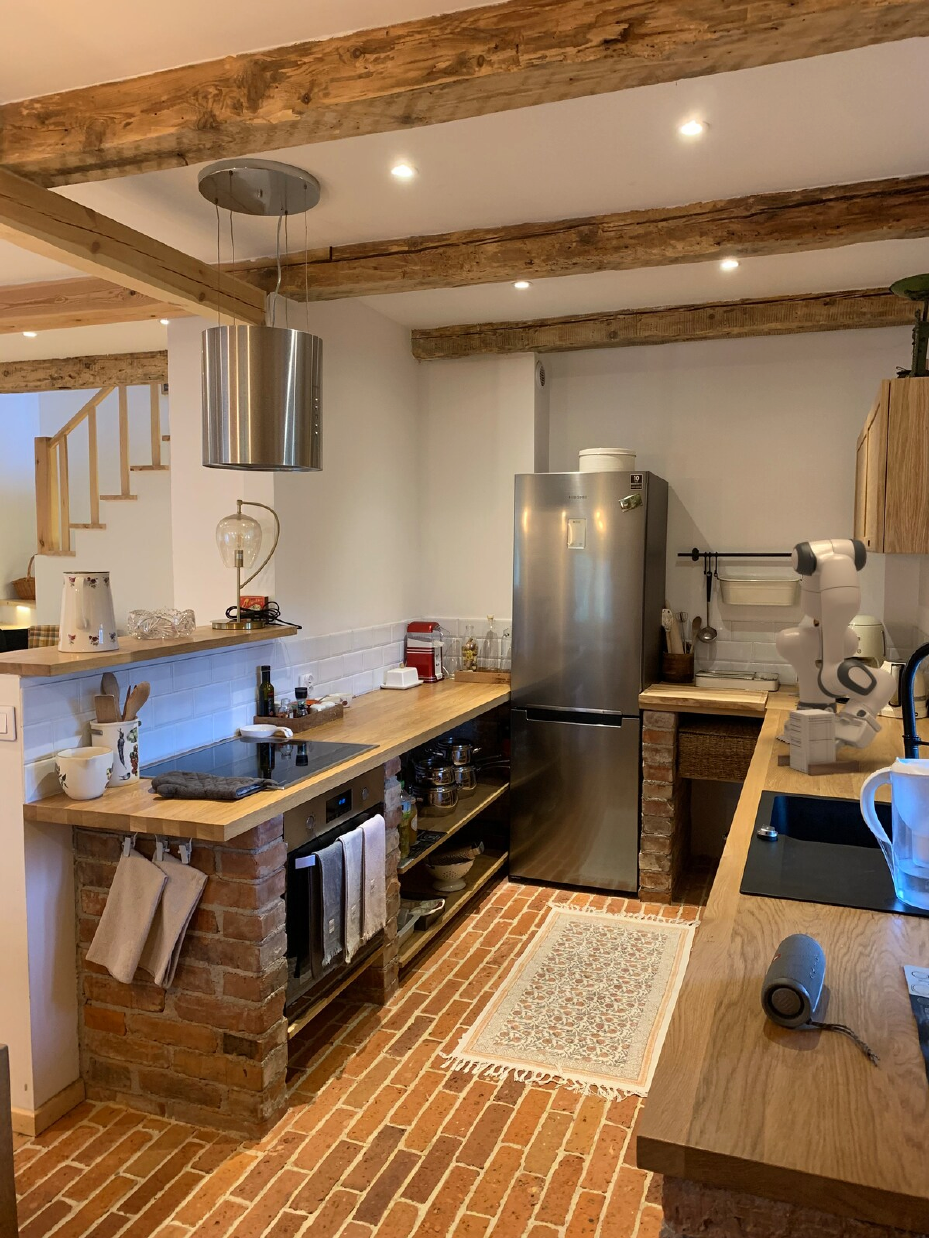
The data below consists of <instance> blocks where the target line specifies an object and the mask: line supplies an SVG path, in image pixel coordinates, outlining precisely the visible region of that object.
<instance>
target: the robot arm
mask: <svg viewBox="0 0 929 1238" xmlns="http://www.w3.org/2000/svg"><path fill="white" fill-rule="evenodd" d="M790 558H791V565H792V568H793V571H795V572H796V573H797V574H798V575H801V576H802V577H801V588H800V589H801V591H800V609H801V612H802V613H803V614H804V615H805V616H807V617H808V618H810V619H813V620H815V621H818V622H819V624H818V625H817V626H803V627H802V626H800V627H799V626H794V627H790V628H786V629H782V630H781V631H780V632H779V633H778V635H777V636H776V639H775V647H776V648H775V649H776V651H777V653H778V655H779V656H780V657H781V658H783V659H784V660H785V661H787V662H788V663H789V664H790V665H791V667H792V668H793V670H794V671H795V674H796V677H797V680H798V689H799V690H798V692H799V693H798V694H799V700H798V701H797V702H796V701H795V702H794V703H795V705H794V706H795V707H796V709H795V711H796V710H812V709H819V710H823V711H828V712H832V713H835V751H836V752H838V751H839V750H840V749H843V748H844V746H847V747H850V748H853V749H854V748H855V749H859V750H864V749H866V748H867V747H868V746H869V745H870V744H871V743H872V742H873V740H874V739H875V738H876V736H877V733H880V731H882V729H883V727H882V725H881V724H880V723H879V722H878V721H877V717H878V715H879V713H880V712H881V711H882V710H883V709H885V707H886V706H887V705H888V703H889V702H890V701H891V699H892V698H893V696H894V695H895V692H896V690H897V687H898V686H897V685H898V684H897V683H898V682H897V681H896V679H895V677H894V676H893V675H892V674H891V673H890V672H889V671H887V670H885V669H883V668H875V667H871V666H868V665H866V664H864V663H862V662H861V661H859V660H857V659H849V658H853V656H855V655H856V653H857V651H858V649H859V647H860V642H859V638H858V637H859V636H858V635H857V634H856V632H855V631H854V630H853V628H851V627H849V625H850V624H851V622H852V621H853V620H854V619H855V618H856V616H857V615H858V613H859V612H860V609H861V601H862V600H861V599H862V598H861V597H862V595H861V587H860V580H859V576H858V575H859V574H858V572H860V571H862V569H864V567H865V566H866V564H867V559H868V552H867V549H866V546H865V544H864V542H863V541H862V540H860V539H855V538H854V539H853V538H848V539H846V538H845V539H841V538H839V539H838V538H830V539H829V538H828V539H824V540H823V539H822V540H814V541H809V542H808V541H803V542H799V543H797V544H796V545H795V546H794V547H793V548H792V553H791V556H790ZM845 659H846V660H845ZM816 661H821V664H820V668H818V667H817V664H816ZM845 696H848V697H849V700H848V701H847V702H846V703H845V704H844V705H843V707H842V708H841V709H840V710H839V712H838V705H837V701H836V699H841V698H843V697H845ZM775 737H776V738H778V739H781V740H783V741H785V742H784V743H786V744H788V743H790V729H789V718H788V719H786V721H784V724H783V734H779V735H776V736H775ZM776 738H775V739H776ZM778 739H777V740H778ZM781 740H780V741H781ZM783 741H782V742H783Z"/></svg>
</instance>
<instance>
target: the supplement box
mask: <svg viewBox="0 0 929 1238" xmlns="http://www.w3.org/2000/svg"><path fill="white" fill-rule="evenodd" d="M788 713H789V714H788V719H789V729H790V744H789V754H790V766H789V768H790V769H793V770H796V771H798V770H799V772H802V773H804V774H806V773H808V764H817V763H829V762H837V761H836V760H837V759H836V754H837V753H836V752H837V751H835V713H832V712H828V711H823V710H819V709H812V710H796V709H795V710H789V711H788Z"/></svg>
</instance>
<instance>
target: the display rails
mask: <svg viewBox="0 0 929 1238" xmlns="http://www.w3.org/2000/svg"><path fill="white" fill-rule="evenodd" d="M777 766H779V767H790V753H789V754H778V755H777ZM834 773H840V774H851V773H860V760H845V761H836V762H829V763H817V764H808V775H809V776H810V777H815V776H827V775H826V774H828V775H835V774H834Z"/></svg>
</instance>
